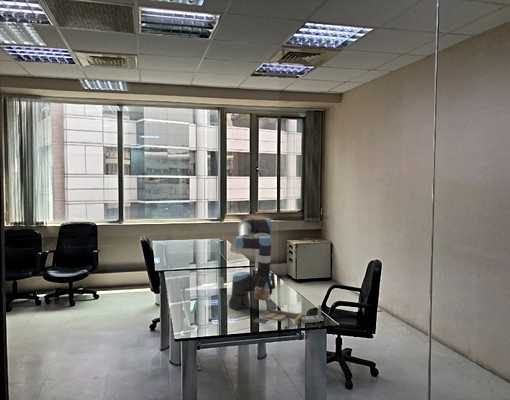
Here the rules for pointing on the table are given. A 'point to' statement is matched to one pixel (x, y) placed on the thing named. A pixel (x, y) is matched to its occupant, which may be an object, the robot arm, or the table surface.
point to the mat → (261, 320)
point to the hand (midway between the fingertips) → (262, 298)
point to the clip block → (261, 294)
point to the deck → (274, 316)
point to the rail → (288, 315)
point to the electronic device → (313, 317)
